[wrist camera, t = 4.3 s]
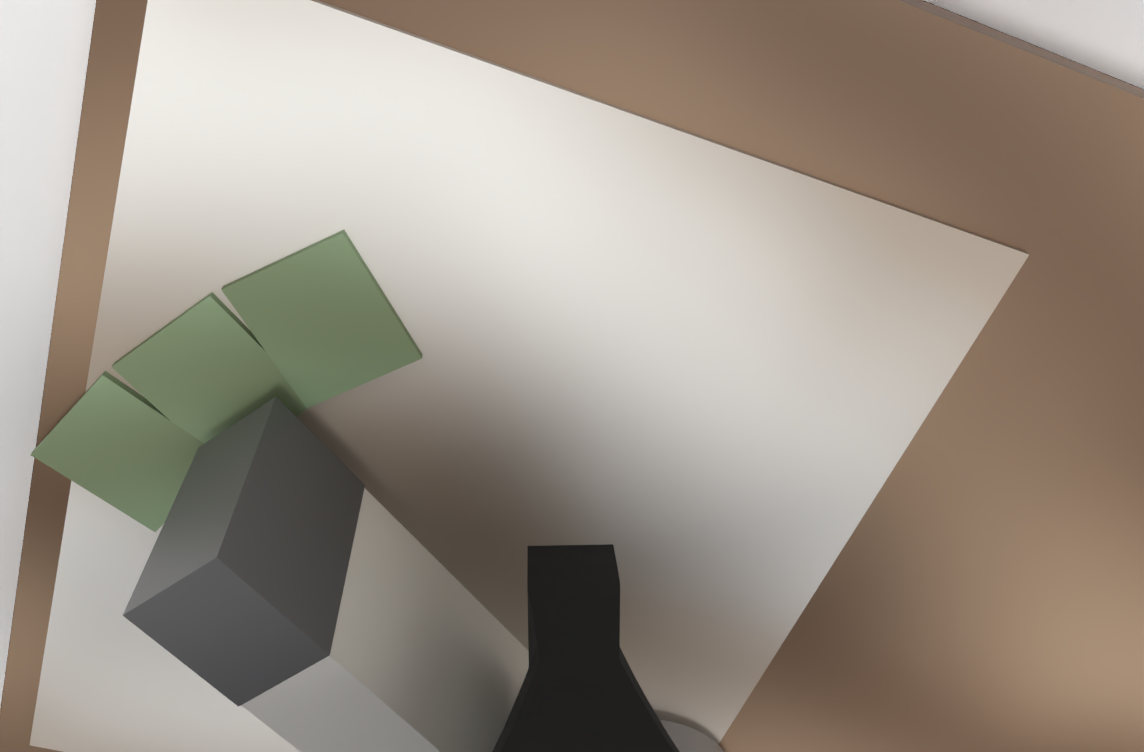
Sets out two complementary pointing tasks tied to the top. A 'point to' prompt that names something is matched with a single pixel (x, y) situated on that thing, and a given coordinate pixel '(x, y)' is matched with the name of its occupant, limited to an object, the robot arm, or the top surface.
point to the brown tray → (621, 349)
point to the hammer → (325, 605)
